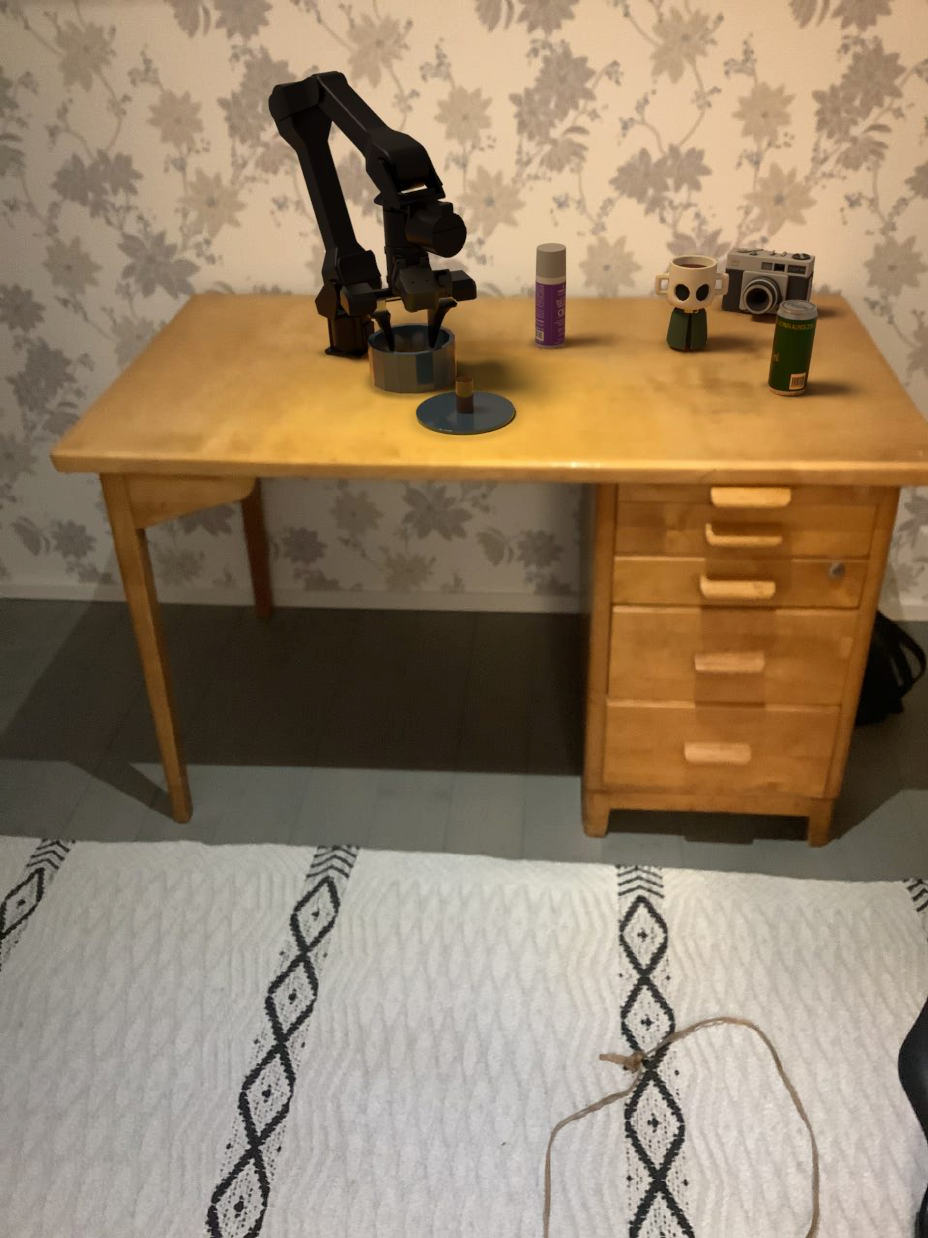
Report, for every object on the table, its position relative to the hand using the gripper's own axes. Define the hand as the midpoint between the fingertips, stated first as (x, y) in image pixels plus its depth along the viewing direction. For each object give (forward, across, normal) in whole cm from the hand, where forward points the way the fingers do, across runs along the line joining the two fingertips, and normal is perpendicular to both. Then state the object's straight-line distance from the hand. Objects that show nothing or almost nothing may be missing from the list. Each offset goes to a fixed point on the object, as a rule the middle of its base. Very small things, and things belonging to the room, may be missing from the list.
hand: (412, 350), depth 159 cm
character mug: (+5, +43, -4) cm, 43 cm away
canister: (+4, 0, 0) cm, 4 cm away
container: (+5, +24, +6) cm, 25 cm away
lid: (+4, +3, -16) cm, 16 cm away
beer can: (+5, +48, -24) cm, 54 cm away
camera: (+5, +61, +4) cm, 61 cm away
